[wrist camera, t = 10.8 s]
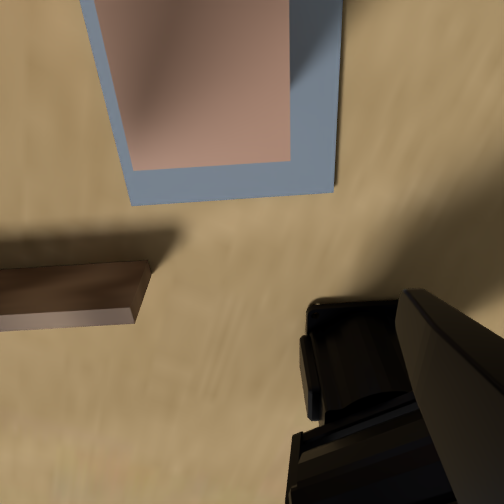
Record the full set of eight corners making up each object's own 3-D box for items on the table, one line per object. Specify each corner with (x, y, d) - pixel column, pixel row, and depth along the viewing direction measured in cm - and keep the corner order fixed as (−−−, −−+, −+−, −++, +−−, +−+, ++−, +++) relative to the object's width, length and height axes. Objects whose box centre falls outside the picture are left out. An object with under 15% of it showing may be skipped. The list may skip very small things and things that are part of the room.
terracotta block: (271, -19, 15) (288, -34, 9) (274, 106, 17) (290, 161, 11) (151, -11, 15) (89, -20, 9) (171, 113, 17) (133, 170, 11)
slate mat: (348, -185, 13) (352, -190, 12) (331, 189, 20) (333, 192, 19) (43, -158, 13) (38, -162, 13) (133, 202, 20) (131, 206, 20)
